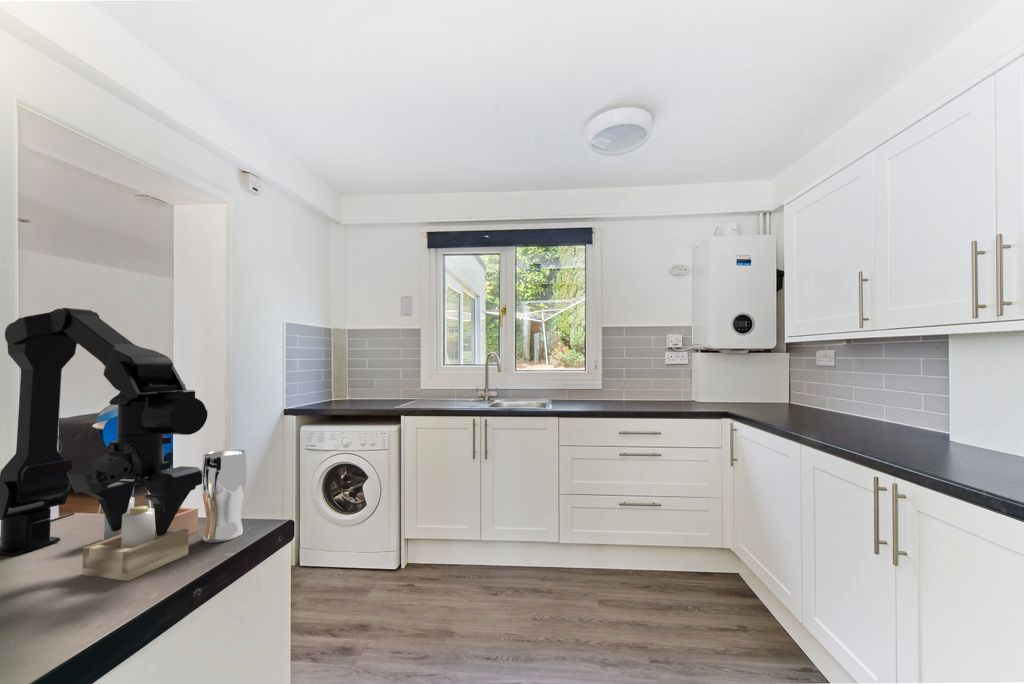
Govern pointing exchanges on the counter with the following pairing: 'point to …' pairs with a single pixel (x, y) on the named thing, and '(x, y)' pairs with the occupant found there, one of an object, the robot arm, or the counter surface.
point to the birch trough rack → (133, 555)
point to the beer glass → (223, 494)
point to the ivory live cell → (138, 527)
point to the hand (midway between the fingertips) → (138, 532)
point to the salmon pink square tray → (183, 520)
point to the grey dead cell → (107, 530)
